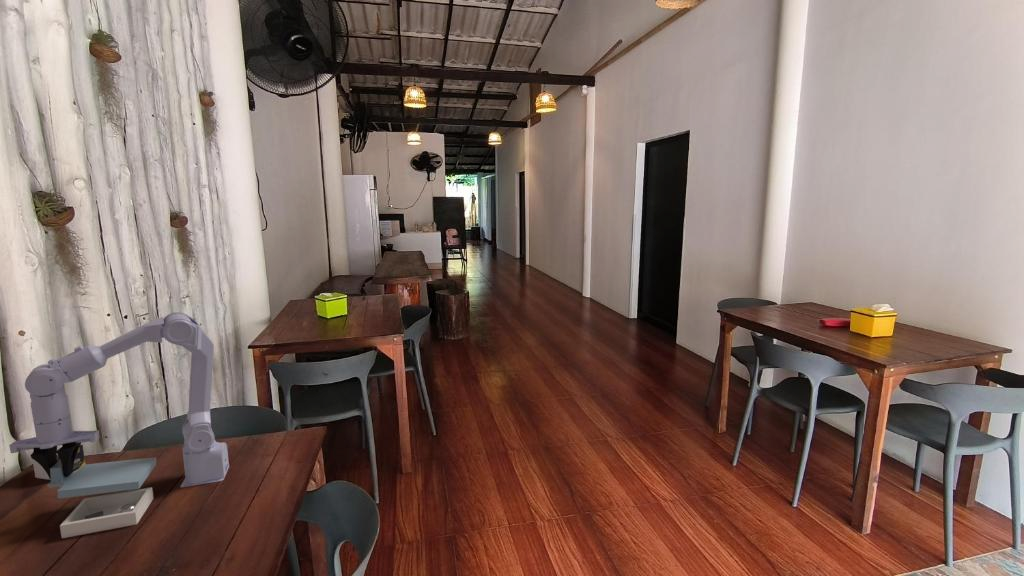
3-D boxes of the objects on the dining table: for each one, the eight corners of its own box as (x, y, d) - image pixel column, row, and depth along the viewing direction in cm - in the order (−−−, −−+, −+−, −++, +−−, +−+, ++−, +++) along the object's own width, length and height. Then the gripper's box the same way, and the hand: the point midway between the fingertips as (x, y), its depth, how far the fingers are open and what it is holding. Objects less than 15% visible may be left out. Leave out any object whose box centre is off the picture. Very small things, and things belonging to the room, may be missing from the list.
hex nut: (138, 506, 107) (138, 501, 107) (133, 513, 105) (133, 508, 104) (123, 509, 106) (123, 504, 106) (118, 516, 104) (118, 511, 103)
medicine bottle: (56, 481, 118) (49, 438, 116) (34, 478, 119) (27, 435, 117) (86, 466, 125) (80, 425, 123) (66, 463, 126) (59, 423, 124)
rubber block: (103, 517, 103) (102, 510, 103) (103, 521, 102) (102, 515, 102) (85, 522, 101) (84, 516, 101) (85, 527, 100) (84, 520, 100)
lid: (156, 464, 114) (155, 444, 113) (138, 488, 103) (138, 467, 103) (67, 473, 107) (66, 452, 107) (39, 500, 97) (37, 477, 96)
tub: (153, 500, 110) (152, 487, 110) (137, 526, 101) (135, 512, 101) (86, 512, 106) (84, 498, 105) (62, 540, 97) (59, 525, 96)
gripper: (-5, 432, 94) (6, 492, 96) (85, 421, 99) (93, 478, 101) (17, 417, 100) (27, 474, 103) (100, 408, 106) (108, 462, 108)
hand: (61, 475), depth 102 cm, fingers closed on lid
